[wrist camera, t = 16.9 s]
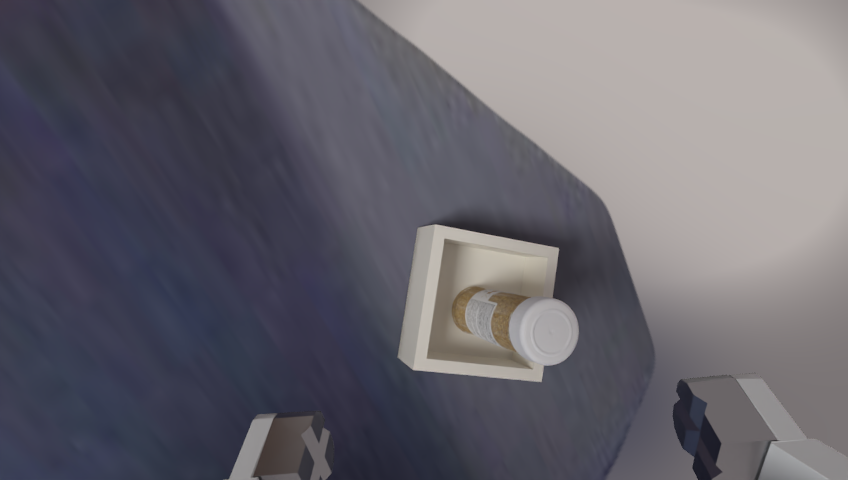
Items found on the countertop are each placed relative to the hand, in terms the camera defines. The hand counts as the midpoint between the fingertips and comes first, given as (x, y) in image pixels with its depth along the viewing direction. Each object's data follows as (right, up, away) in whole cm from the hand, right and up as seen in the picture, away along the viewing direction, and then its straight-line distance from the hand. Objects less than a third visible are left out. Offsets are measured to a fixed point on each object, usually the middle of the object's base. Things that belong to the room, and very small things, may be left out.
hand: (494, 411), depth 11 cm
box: (+3, -2, +34) cm, 35 cm away
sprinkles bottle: (+3, -3, +34) cm, 34 cm away
